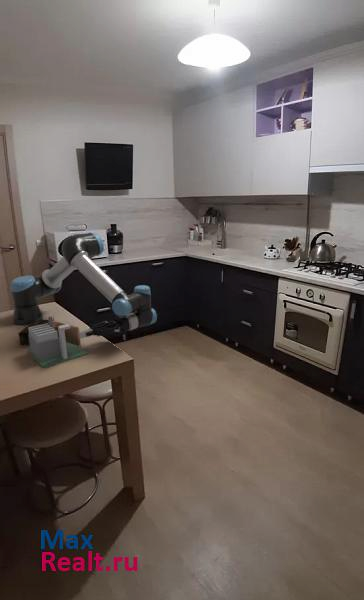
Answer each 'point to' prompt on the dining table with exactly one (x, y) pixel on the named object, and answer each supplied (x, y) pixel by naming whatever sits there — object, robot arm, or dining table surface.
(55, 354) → the heat sink
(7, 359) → the dining table surface
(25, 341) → the beverage carton
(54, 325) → the hinge
